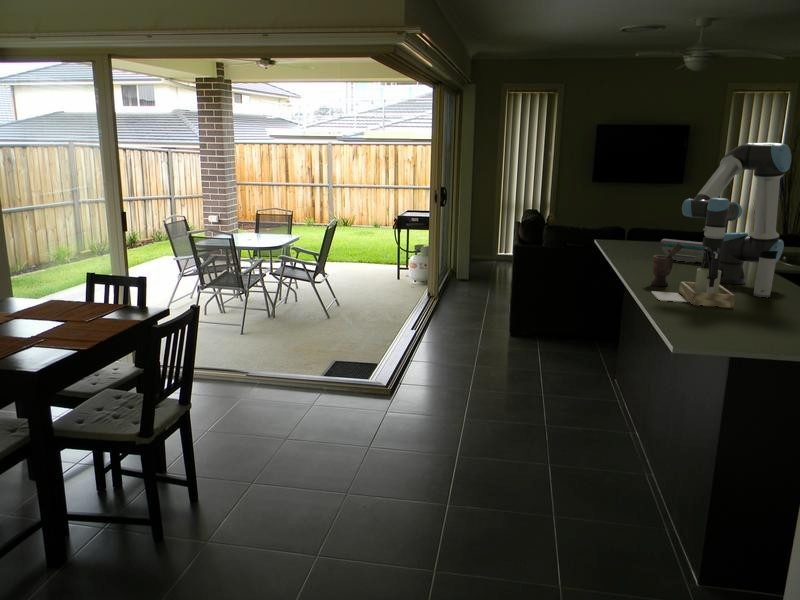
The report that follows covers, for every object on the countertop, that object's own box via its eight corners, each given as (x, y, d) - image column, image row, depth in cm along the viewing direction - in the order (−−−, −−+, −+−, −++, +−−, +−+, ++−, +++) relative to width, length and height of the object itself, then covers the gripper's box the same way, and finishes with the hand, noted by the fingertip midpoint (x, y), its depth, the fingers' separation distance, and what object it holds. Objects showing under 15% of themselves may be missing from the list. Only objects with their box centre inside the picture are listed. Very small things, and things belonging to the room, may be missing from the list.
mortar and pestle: (676, 285, 295) (682, 241, 291) (677, 288, 287) (683, 243, 283) (649, 282, 299) (654, 239, 294) (649, 286, 291) (655, 241, 286)
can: (720, 301, 261) (724, 271, 258) (696, 299, 263) (700, 270, 260) (714, 296, 270) (718, 267, 267) (690, 294, 272) (694, 266, 269)
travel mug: (764, 298, 273) (772, 251, 268) (750, 295, 278) (757, 249, 274) (773, 297, 276) (781, 250, 271) (759, 294, 281) (766, 248, 277)
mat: (678, 294, 275) (678, 293, 275) (687, 302, 260) (687, 301, 260) (651, 292, 277) (651, 291, 277) (658, 300, 262) (658, 299, 262)
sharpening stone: (708, 262, 360) (711, 243, 357) (706, 264, 354) (709, 244, 351) (661, 257, 373) (664, 238, 371) (658, 259, 367) (661, 240, 364)
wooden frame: (716, 295, 276) (718, 284, 275) (733, 307, 254) (735, 295, 253) (678, 292, 278) (680, 281, 277) (691, 304, 257) (693, 292, 256)
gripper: (697, 233, 271) (690, 285, 277) (711, 240, 251) (703, 297, 256) (716, 234, 270) (708, 287, 275) (732, 241, 249) (723, 298, 255)
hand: (706, 291), depth 266 cm, fingers closed on can, 9 cm apart
